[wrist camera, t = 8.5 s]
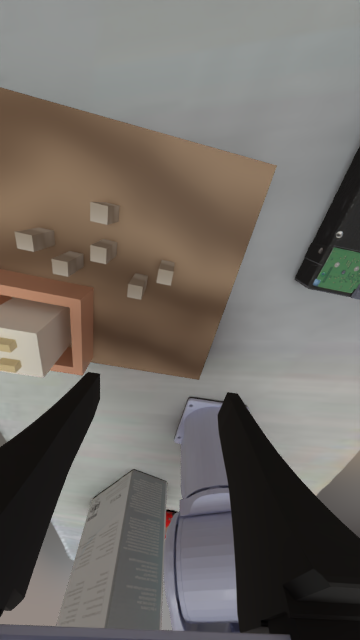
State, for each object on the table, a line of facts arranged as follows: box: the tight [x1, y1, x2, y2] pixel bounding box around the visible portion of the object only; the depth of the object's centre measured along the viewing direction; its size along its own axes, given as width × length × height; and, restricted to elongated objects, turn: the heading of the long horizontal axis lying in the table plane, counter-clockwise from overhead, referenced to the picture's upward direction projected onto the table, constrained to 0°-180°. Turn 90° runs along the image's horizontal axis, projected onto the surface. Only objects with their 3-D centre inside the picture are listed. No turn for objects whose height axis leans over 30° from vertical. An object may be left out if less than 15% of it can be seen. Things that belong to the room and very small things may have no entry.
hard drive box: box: [56, 470, 167, 630], centre depth 30 cm, size 16×8×20 cm, turn 141°
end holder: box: [0, 269, 94, 375], centre depth 17 cm, size 8×8×2 cm
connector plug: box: [0, 297, 72, 378], centre depth 16 cm, size 4×4×6 cm
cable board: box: [0, 88, 277, 380], centre depth 16 cm, size 19×20×4 cm
